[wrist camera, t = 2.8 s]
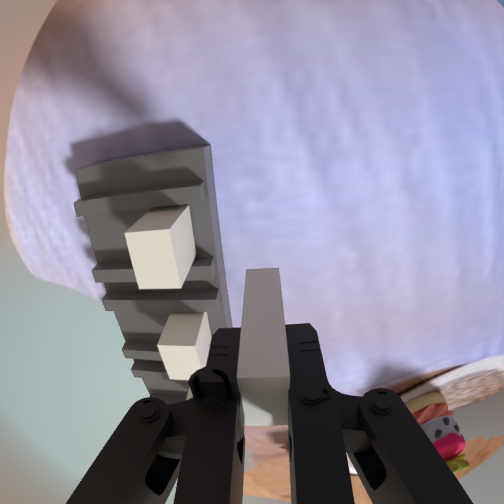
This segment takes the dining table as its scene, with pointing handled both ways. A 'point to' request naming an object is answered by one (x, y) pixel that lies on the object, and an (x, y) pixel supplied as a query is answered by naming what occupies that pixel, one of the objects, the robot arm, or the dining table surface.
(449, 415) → the cake
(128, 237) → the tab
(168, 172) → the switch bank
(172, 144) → the dining table surface
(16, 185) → the dining table surface
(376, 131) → the dining table surface
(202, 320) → the tab middle
